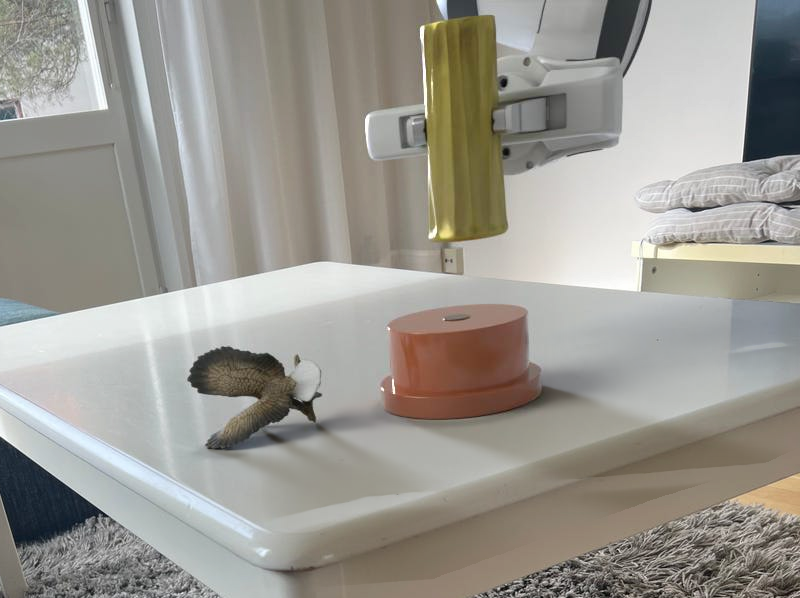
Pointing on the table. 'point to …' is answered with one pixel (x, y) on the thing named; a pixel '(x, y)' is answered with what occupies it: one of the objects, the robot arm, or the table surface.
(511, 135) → the robot arm
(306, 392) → the eagle figurine
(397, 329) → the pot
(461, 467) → the table surface
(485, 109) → the vase
